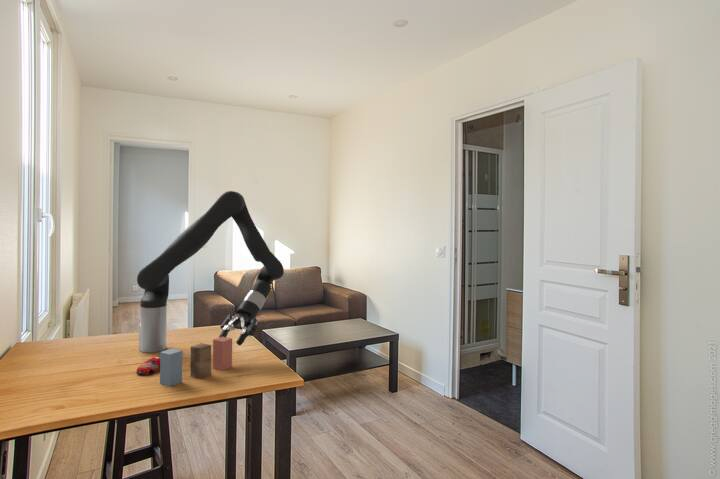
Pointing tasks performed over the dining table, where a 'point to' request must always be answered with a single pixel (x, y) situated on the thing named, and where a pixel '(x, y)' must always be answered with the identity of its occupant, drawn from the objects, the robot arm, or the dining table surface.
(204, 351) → the walnut block
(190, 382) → the dining table surface
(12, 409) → the dining table surface
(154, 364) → the race car
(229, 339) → the red block
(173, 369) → the slate block
